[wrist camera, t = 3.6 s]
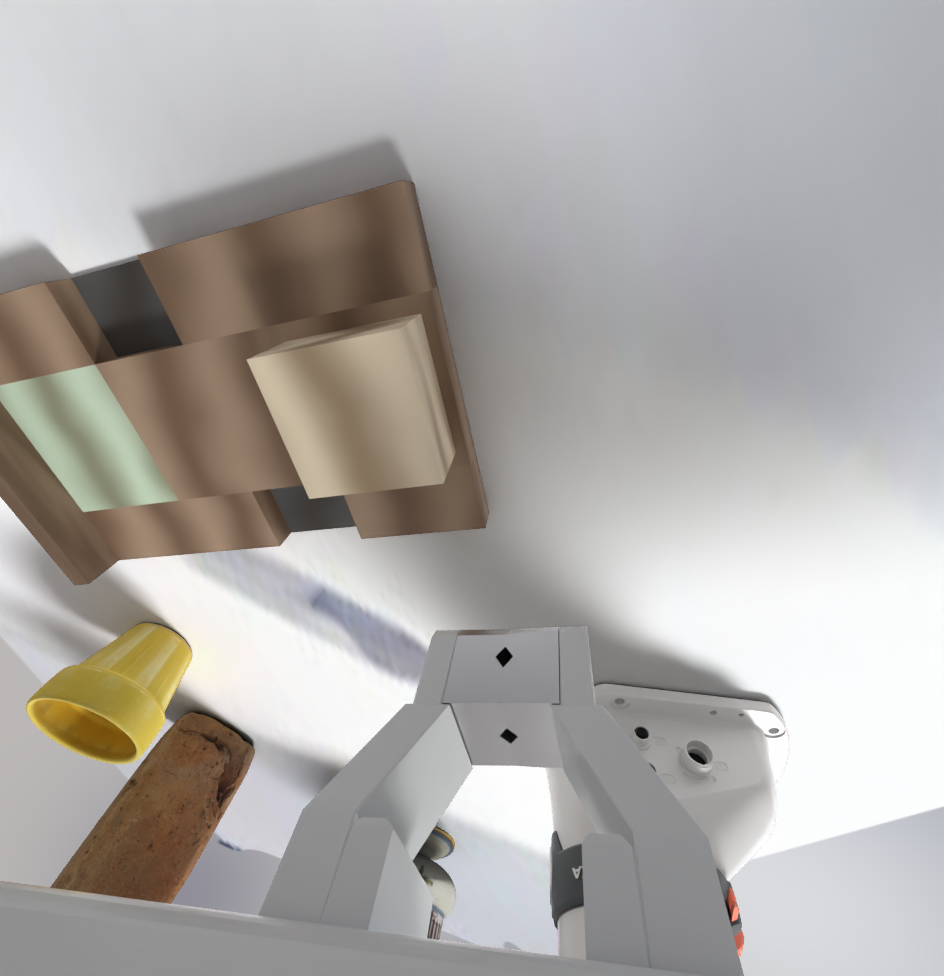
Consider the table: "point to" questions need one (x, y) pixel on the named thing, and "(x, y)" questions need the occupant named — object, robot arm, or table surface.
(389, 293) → the box
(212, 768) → the block
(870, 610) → the table surface
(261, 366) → the maple block
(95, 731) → the plant pot
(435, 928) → the apothecary jar
